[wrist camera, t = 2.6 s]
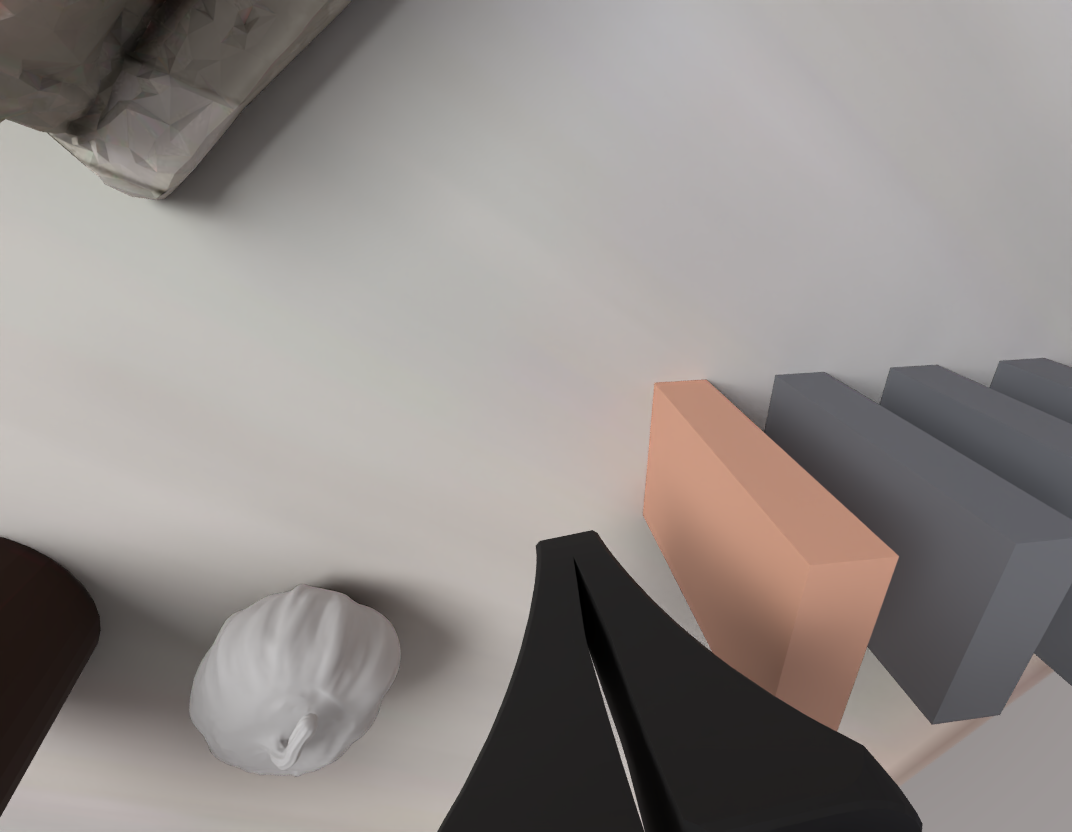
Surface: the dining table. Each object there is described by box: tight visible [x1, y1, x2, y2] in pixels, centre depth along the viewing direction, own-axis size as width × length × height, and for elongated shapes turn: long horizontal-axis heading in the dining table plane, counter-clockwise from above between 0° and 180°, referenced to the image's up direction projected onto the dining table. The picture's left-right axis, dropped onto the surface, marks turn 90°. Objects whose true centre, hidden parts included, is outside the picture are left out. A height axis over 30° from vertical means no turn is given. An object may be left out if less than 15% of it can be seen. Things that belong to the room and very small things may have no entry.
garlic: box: [189, 584, 401, 777], centre depth 16 cm, size 6×5×5 cm
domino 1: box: [643, 380, 899, 731], centre depth 14 cm, size 2×5×8 cm, turn 1°
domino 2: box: [764, 372, 1072, 724], centre depth 14 cm, size 2×5×8 cm, turn 1°
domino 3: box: [880, 365, 1072, 685], centre depth 14 cm, size 2×5×8 cm, turn 1°
